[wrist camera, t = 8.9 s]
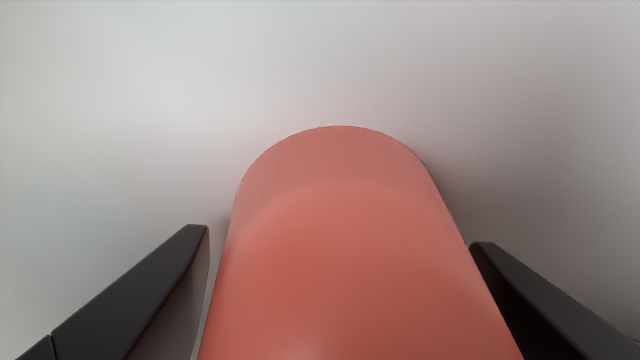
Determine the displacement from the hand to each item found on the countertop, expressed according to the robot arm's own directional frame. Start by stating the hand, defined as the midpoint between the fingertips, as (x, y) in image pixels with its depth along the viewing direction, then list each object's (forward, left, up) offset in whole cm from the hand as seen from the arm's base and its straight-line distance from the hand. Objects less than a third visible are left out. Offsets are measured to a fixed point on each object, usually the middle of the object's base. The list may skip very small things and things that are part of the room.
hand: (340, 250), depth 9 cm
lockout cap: (0, 0, -1) cm, 1 cm away
